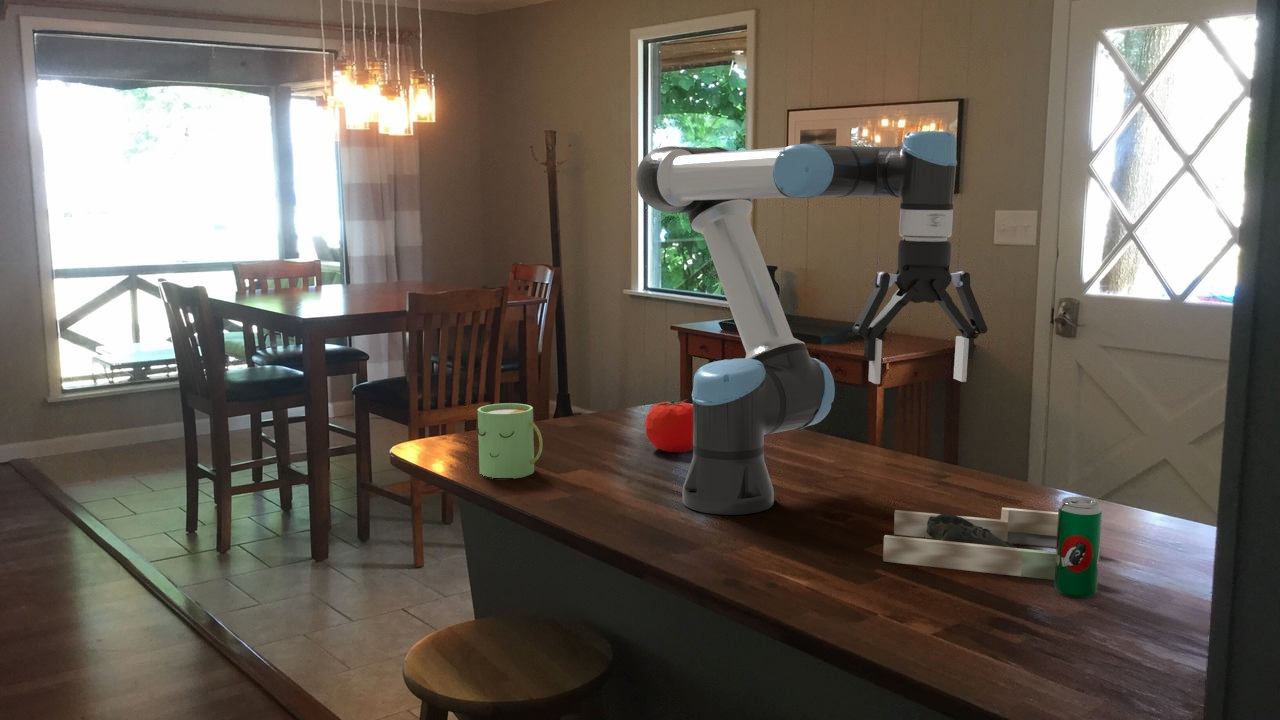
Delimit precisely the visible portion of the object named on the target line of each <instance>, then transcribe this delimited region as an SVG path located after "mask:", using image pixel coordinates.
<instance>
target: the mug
mask: <svg viewBox="0 0 1280 720" xmlns="http://www.w3.org/2000/svg"><path fill="white" fill-rule="evenodd" d="M477 426H478V427H477V434H478V436H477V437H478V464H479V465H478V467H479V475H480V474H482V475H483V476H482V475H481V476H482V477H484V476H487V477H492V478H491V479H493V478H513V479H520V478H524V477H529V476H530V475H532V474H534V473H535V463H536V462H537V461H538V459H540V456H541V454H542V451H543V444H544V443H543V442H544V441H543V437H542V434H541V431H540V429H539V427H538V426H537V425H536V423H535V422H534V407H533V406H532V405H529V404H525V403H524V404H523V403H513V402H512V403H511V402H509V403H507V402H506V403H493V404H486V405H483V406H480V407H478V408H477ZM534 431H535V432H536V435H537V437H538V452H537V454H536V456H535V448H534V446H535V445H534V444H535V443H534ZM487 477H486V478H487Z"/></svg>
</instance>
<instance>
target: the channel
mask: <svg viewBox="0 0 1280 720" xmlns="http://www.w3.org/2000/svg"><path fill="white" fill-rule="evenodd" d="M940 514H941V513H933V512H922V511H921V512H920V511H910V510H900V509H895V510H894V518H893V519H894V520H893V521H894V522H893V523H894V524H893V535H888V534H885V535H884V536H883V548H882V549H883V550H882V551H883V556H882V561H883V562H885V563H886V562H887V563H896V564H903V565H914V566H921V567H930V568H931V567H933V568H940V569H951V570H959V571H970V572H979V573H988V574H995V575H996V574H997V575H1007V576H1013V577H1014V576H1016V577H1025V578H1033V579H1041V580H1042V579H1043V580H1051V581H1054V579H1055V561H1056V551H1051V550H1040V549H1039V550H1038V549H1028V548H1020V547H1019V548H1017V547H1016V548H1010V547H1000V546H990V545H980V544H970V543H960V542H950V541H940V540H935V539H934V538H933V537H931V536H930V535H929V534H928V533H926V530H927V522H928V520H929V517H930V516H932V517H936V516H938V515H940ZM1000 514H1001V515H1000V519H997V518H987V517H978V516H977V517H974V516H964V515H957V516H958V517H962V518H963V519H965V520H967V521H969V522H971V523H972V524H973V525H975V526H979V527H982V528H983V529H988V530H990V532H991V533H992V534H993V535H995V536H996V537H998V538H1000V539H1001V540H1003V541H1008V542H1010V543H1011V544H1012V545H1018V544H1019V545H1021V546H1027V547H1029V546H1031V547H1037V548H1048V549H1056V542H1057V524H1058V511H1056V512H1055V511H1045V510H1035V509H1024V508H1013V507H1001V513H1000ZM924 537H925V538H924Z"/></svg>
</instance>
